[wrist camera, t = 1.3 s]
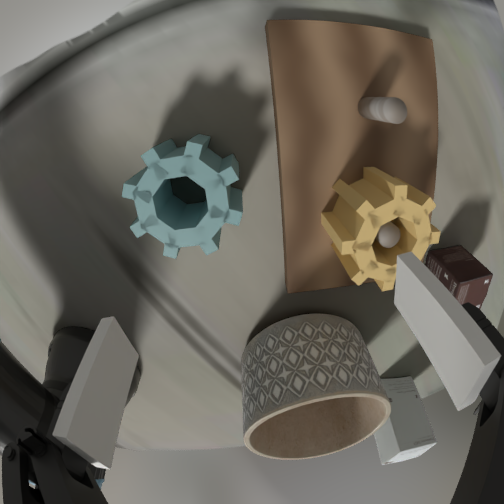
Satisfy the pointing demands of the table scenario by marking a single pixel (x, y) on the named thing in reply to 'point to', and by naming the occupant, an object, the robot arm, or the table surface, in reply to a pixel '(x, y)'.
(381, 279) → the gear out
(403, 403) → the skincare box
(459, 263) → the box
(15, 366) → the robot arm
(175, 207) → the gear
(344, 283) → the gear board
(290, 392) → the planter
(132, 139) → the table surface
